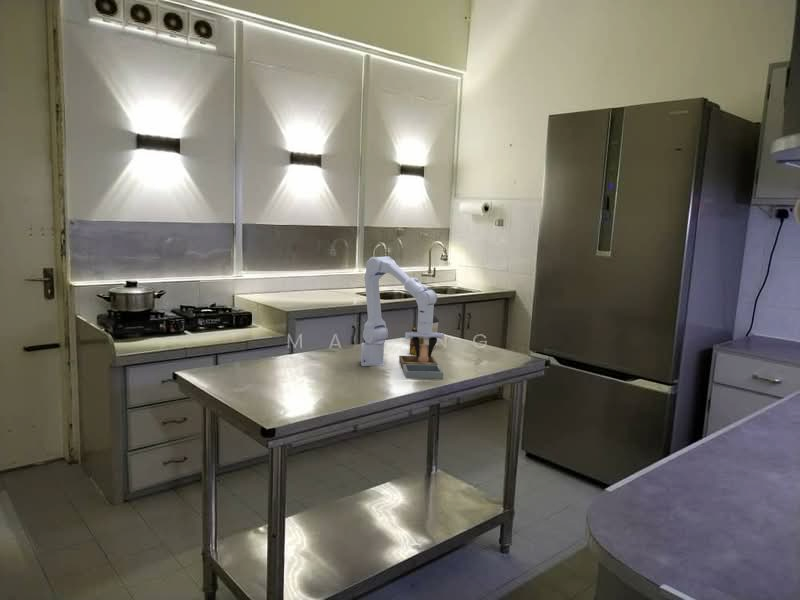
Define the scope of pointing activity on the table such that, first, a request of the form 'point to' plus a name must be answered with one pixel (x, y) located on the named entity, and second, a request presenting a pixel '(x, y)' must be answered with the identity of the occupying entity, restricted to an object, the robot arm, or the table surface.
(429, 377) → the bin
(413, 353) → the condiment
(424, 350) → the orange tan cylinder
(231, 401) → the table surface
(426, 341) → the coffee cup
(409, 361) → the bin
